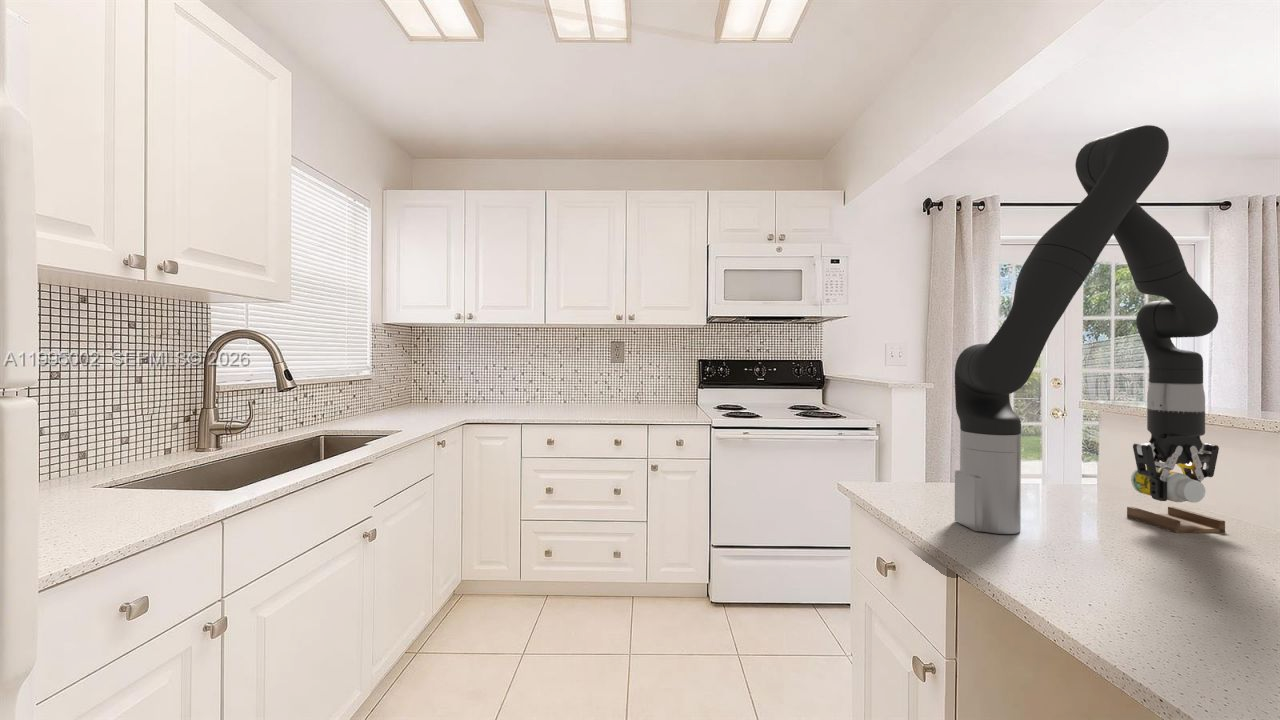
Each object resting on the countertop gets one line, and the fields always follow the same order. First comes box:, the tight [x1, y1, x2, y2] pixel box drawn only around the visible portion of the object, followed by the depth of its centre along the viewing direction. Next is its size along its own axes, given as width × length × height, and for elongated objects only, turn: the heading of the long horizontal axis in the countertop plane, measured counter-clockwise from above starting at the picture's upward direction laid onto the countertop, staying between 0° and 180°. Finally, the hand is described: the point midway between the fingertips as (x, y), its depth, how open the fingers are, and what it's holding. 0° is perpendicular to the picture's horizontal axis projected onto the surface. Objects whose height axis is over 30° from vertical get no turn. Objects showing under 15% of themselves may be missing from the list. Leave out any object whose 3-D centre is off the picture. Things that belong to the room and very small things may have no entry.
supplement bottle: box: [1130, 465, 1206, 503], centre depth 99 cm, size 5×5×10 cm
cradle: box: [1126, 506, 1226, 533], centre depth 98 cm, size 9×9×2 cm
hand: (1175, 499), depth 98 cm, fingers closed on supplement bottle, 5 cm apart
